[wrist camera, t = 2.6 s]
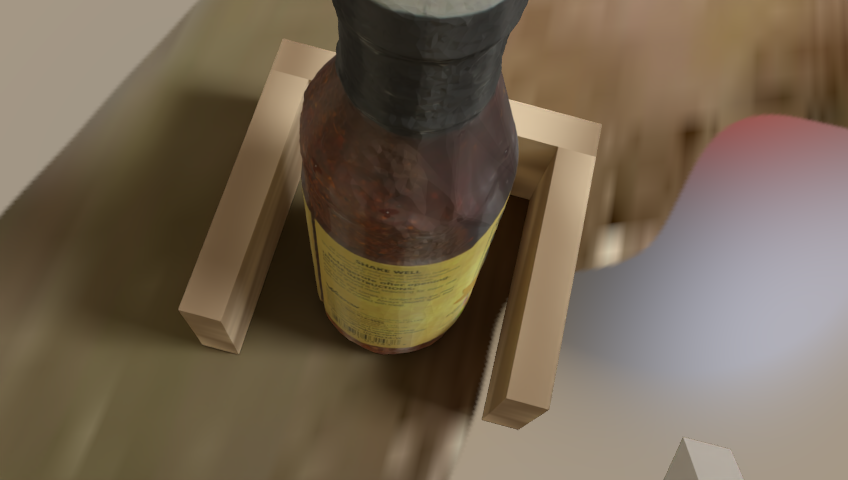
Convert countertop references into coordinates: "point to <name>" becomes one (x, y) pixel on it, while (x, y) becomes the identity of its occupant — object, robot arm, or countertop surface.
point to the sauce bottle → (407, 164)
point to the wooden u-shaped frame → (535, 180)
